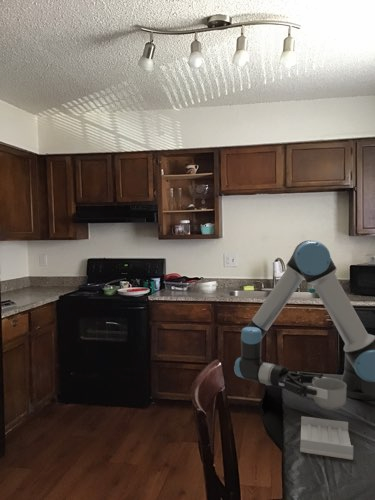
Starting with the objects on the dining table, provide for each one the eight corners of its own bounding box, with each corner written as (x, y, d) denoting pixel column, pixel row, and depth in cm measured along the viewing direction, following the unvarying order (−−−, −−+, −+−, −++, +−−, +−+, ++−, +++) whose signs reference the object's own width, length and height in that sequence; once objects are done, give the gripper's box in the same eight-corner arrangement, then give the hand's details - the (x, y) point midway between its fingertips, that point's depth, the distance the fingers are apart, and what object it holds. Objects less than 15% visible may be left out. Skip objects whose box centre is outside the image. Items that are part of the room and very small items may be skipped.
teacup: (352, 412, 137) (353, 387, 137) (321, 414, 135) (321, 389, 135) (331, 396, 151) (331, 373, 151) (302, 397, 149) (302, 375, 149)
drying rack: (301, 427, 136) (301, 416, 136) (347, 433, 132) (348, 422, 132) (300, 451, 121) (300, 439, 121) (352, 459, 117) (353, 446, 117)
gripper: (288, 377, 164) (346, 390, 149) (257, 394, 146) (319, 412, 132) (288, 357, 163) (346, 369, 149) (257, 373, 145) (320, 388, 131)
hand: (334, 389), depth 140 cm, fingers closed on teacup, 11 cm apart
